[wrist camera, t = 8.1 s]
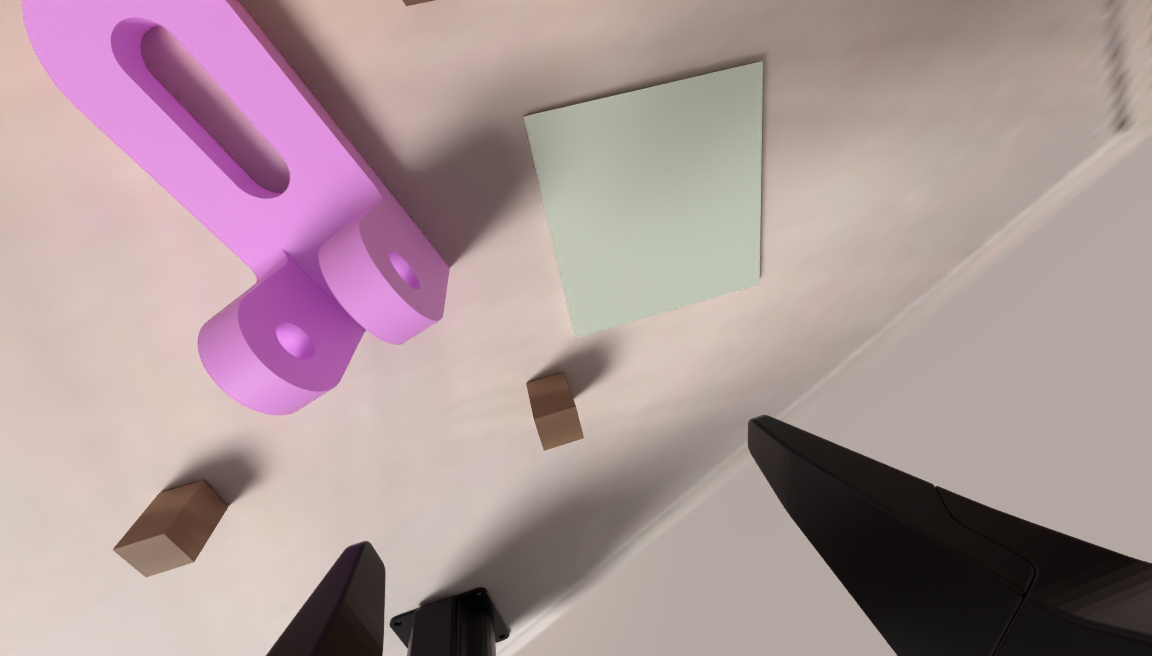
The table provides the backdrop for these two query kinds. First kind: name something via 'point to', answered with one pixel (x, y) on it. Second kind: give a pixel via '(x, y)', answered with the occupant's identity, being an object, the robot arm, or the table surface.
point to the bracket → (253, 194)
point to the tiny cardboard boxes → (195, 509)
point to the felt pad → (653, 195)
